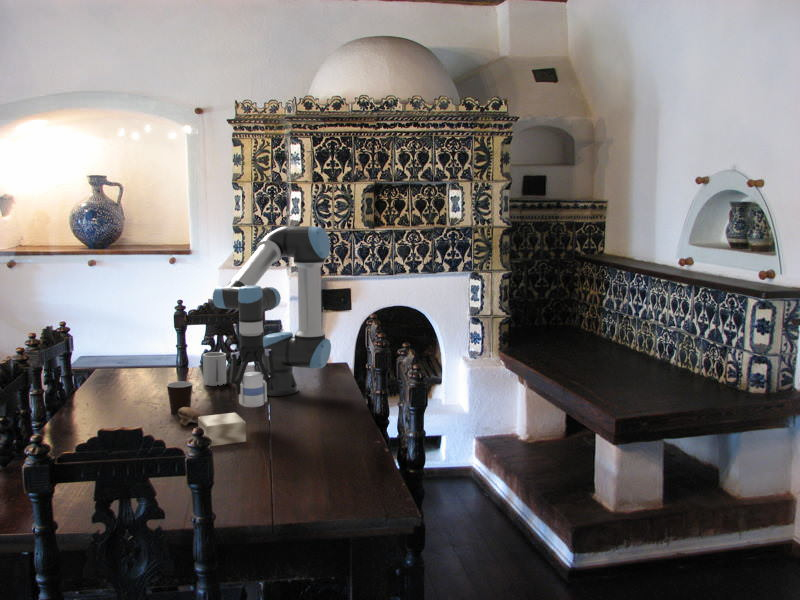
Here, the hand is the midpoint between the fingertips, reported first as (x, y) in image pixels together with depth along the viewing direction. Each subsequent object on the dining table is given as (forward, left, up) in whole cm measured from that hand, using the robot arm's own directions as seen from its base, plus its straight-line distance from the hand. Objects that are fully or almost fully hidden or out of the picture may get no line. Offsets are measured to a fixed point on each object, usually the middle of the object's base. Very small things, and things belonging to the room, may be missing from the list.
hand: (253, 402), depth 247 cm
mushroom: (+18, -12, -9) cm, 23 cm away
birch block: (+12, +8, -8) cm, 17 cm away
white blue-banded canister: (0, 0, -1) cm, 1 cm away
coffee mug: (+17, -29, -8) cm, 35 cm away
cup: (-3, -66, -8) cm, 66 cm away
